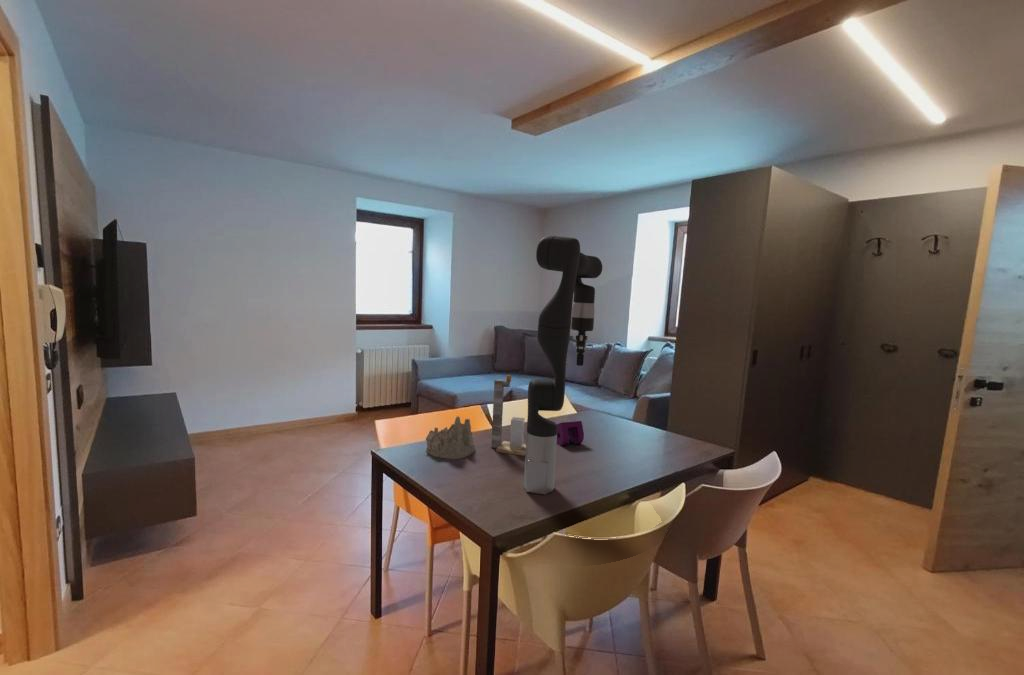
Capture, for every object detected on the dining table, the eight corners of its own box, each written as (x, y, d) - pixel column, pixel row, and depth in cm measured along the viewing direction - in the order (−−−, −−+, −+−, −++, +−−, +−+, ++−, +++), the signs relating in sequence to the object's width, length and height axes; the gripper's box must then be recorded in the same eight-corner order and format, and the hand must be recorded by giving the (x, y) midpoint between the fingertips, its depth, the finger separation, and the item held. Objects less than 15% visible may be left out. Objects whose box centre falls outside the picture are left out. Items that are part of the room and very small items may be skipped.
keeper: (524, 455, 161) (528, 379, 159) (488, 450, 164) (491, 376, 162) (530, 446, 172) (534, 375, 169) (496, 441, 175) (499, 372, 173)
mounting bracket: (544, 450, 186) (564, 444, 171) (541, 430, 189) (561, 422, 173) (563, 448, 190) (585, 442, 175) (560, 428, 193) (581, 420, 177)
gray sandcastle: (481, 449, 165) (480, 410, 164) (452, 463, 151) (451, 421, 150) (450, 443, 173) (448, 406, 172) (420, 456, 160) (418, 415, 158)
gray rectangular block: (523, 446, 169) (524, 418, 168) (521, 449, 165) (522, 421, 164) (511, 444, 170) (513, 417, 169) (509, 448, 165) (510, 420, 164)
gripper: (594, 317, 141) (591, 367, 142) (593, 316, 155) (590, 361, 156) (571, 316, 142) (568, 365, 144) (572, 315, 156) (569, 360, 158)
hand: (579, 363), depth 150 cm, fingers open, 8 cm apart
